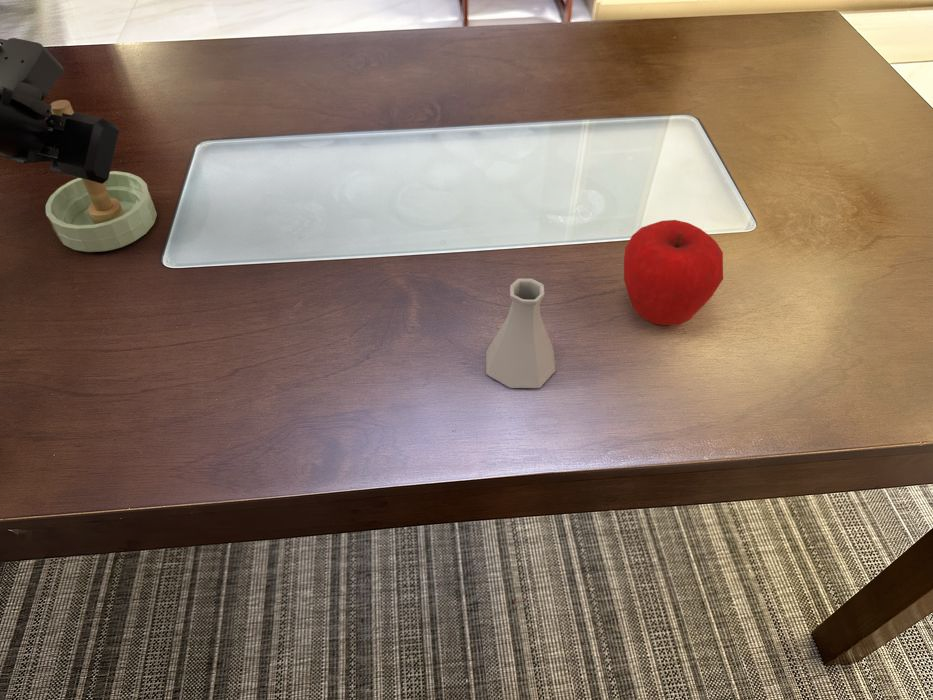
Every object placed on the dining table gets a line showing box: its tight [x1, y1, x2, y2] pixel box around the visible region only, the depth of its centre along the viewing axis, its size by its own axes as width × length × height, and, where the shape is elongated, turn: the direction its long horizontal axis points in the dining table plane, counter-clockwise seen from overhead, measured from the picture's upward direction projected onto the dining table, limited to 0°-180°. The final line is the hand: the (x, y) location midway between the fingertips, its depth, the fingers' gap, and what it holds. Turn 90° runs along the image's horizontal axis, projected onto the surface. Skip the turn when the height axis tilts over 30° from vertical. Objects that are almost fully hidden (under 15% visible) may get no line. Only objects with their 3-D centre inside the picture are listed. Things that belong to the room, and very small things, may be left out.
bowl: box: [45, 170, 158, 253], centre depth 85 cm, size 11×11×4 cm
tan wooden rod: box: [49, 99, 124, 224], centre depth 81 cm, size 4×4×14 cm
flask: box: [485, 278, 556, 389], centre depth 69 cm, size 7×7×10 cm
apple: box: [623, 219, 724, 326], centre depth 73 cm, size 10×10×11 cm
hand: (92, 155), depth 82 cm, fingers closed on tan wooden rod, 2 cm apart
